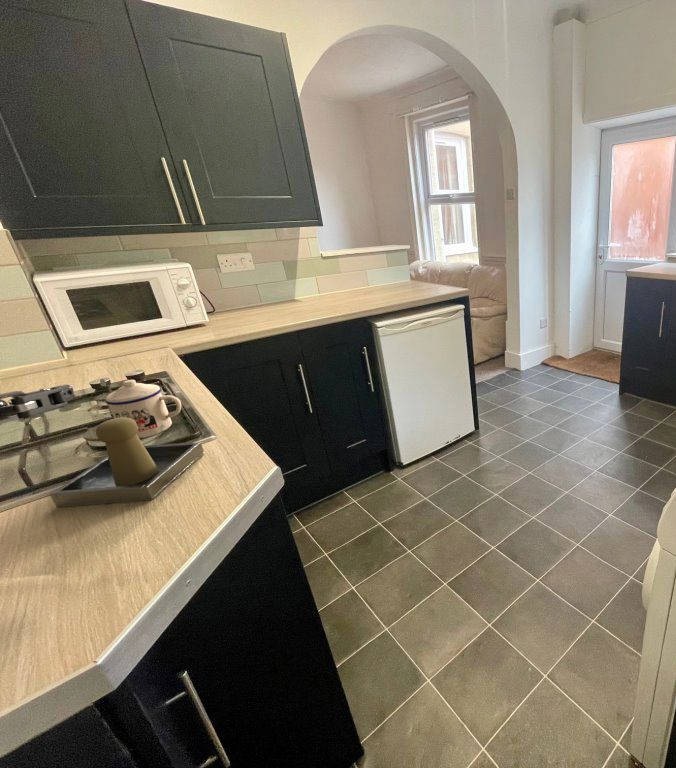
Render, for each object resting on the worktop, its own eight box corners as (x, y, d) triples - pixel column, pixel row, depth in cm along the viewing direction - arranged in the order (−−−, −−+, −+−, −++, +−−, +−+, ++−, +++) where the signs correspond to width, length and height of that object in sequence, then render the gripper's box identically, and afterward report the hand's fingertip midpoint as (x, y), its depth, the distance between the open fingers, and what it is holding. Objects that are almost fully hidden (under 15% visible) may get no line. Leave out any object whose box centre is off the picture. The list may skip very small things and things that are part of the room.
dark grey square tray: (56, 507, 67) (49, 494, 66) (125, 458, 81) (120, 447, 80) (152, 500, 68) (147, 486, 67) (204, 453, 82) (200, 441, 81)
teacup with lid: (112, 443, 87) (89, 392, 82) (132, 425, 94) (112, 376, 90) (180, 433, 90) (162, 383, 86) (194, 415, 98) (178, 369, 94)
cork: (128, 488, 71) (103, 431, 67) (106, 482, 73) (80, 426, 69) (166, 469, 76) (144, 415, 72) (144, 464, 78) (122, 411, 74)
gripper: (-41, 387, 43) (82, 362, 58) (-219, 414, 40) (-41, 380, 56) (-9, 455, 44) (102, 413, 60) (-177, 484, 42) (-16, 432, 57)
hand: (33, 397), depth 58 cm, fingers open, 8 cm apart
